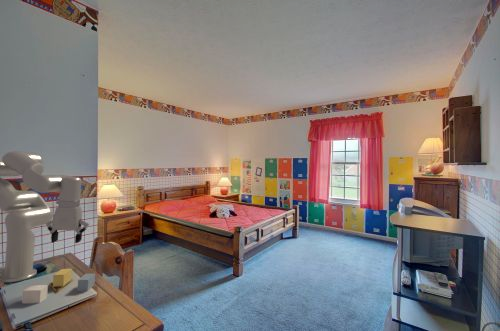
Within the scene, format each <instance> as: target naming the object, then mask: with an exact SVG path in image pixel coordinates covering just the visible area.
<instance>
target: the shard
mask: <svg viewBox="0 0 500 331" xmlns="http://www.w3.org/2000/svg"><path fill="white" fill-rule="evenodd" d="M73 281H74V279H72V278H71V280H70V281H69V282H68V283H67V284H65V285H64V286H57V287H53V281H52V282H51V283H48V286H49V287H51V288H52V289H53V291H54V292H56V293H59V292H60V291H61V290H62V289H64V288H65V287H66V286H68V285H69V284H71V283H72V282H73Z"/></svg>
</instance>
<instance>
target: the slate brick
mask: <svg viewBox="0 0 500 331" xmlns="http://www.w3.org/2000/svg"><path fill="white" fill-rule="evenodd" d="M95 282H96V273H84V274H83V275H82V276H81V277H80V278H79V279H78V280H77V289H76V290H77V291H76V292H82V293H83V292H88V291H89V290H91V289H92V288H93V287H94V286H95Z"/></svg>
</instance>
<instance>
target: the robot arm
mask: <svg viewBox="0 0 500 331" xmlns="http://www.w3.org/2000/svg"><path fill="white" fill-rule="evenodd" d="M44 169H45V166H44V164H43V158H42V156H40V154H38V153H36V152H30V151H29V152H28V151H16V150H15V151H10V152H9V151H8V152H7V153H5V154H4V155H3V156H2V157H1V158H0V210H1V211H2V212H4V213H5V212H6V213H7V214H6V215H5V217H4V225H5V229H6V245H5V246H6V248H5V259H4V266H0V274H1V275H0V283H15V282H19V281H24V280H27V279H30V278H33V277H34V276H35V275H37V273H38V272H37V271H38V270H37V269H36V268H34V256H35V255H34V253H35V241H36V237H35V234H34V232H33V231H32V230H31V228H34V227H39V226H44V225H46V227H47V230H48V231H49V233H50V234H51V236H50V240H51V243H55V242H57V241H58V240H59V231H75V233H76V234H75V238H74V243H75V244H77V243H80V242H81V241H82V236H83V233H84V232H85V231H87V229H88V227H89V226H90V223H88V222H86V221H85V220H83V214H82V213H83V212H82V208H81V205H80V204H81V194H82V193H81V191H82V182H83V181H82V178H81V177H78V176H69V175H63V174H62V175H61V174H59V175H58V174H55V175H54V174H53V175H51V174H49V175H43V172H44ZM19 176H21V177H22V182H23V184H24V185H25V186H26V187H28V188H29V189H31V190H17V189H16V188H15V187H14V185H13V184H12V183H11V182H9V180H7V179H5V178H3V177H19ZM55 192H56V193H57V192H59V199H58V200H57V201H56V202H55V204H56V205H58V206H57V207H56V208H55V211H54V213H53V211H52V209H51V208H50V206H49V204H48V203H47V202H46V201H45V199H44V198H43V197H42V196H41V195H40V194H39V193H42V194H44V193H55ZM82 226H83V227H82Z"/></svg>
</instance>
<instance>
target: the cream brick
mask: <svg viewBox="0 0 500 331" xmlns="http://www.w3.org/2000/svg"><path fill="white" fill-rule="evenodd" d="M48 289H49V284H38V285H37V284H35V285H32V284H31V285H29V286H28V287H26V288H24V289H23V290H22V299H21V300H22V301H21V303H22V304H41V303H42V302H43V301H44V300H46V299H47V298H48Z"/></svg>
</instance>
